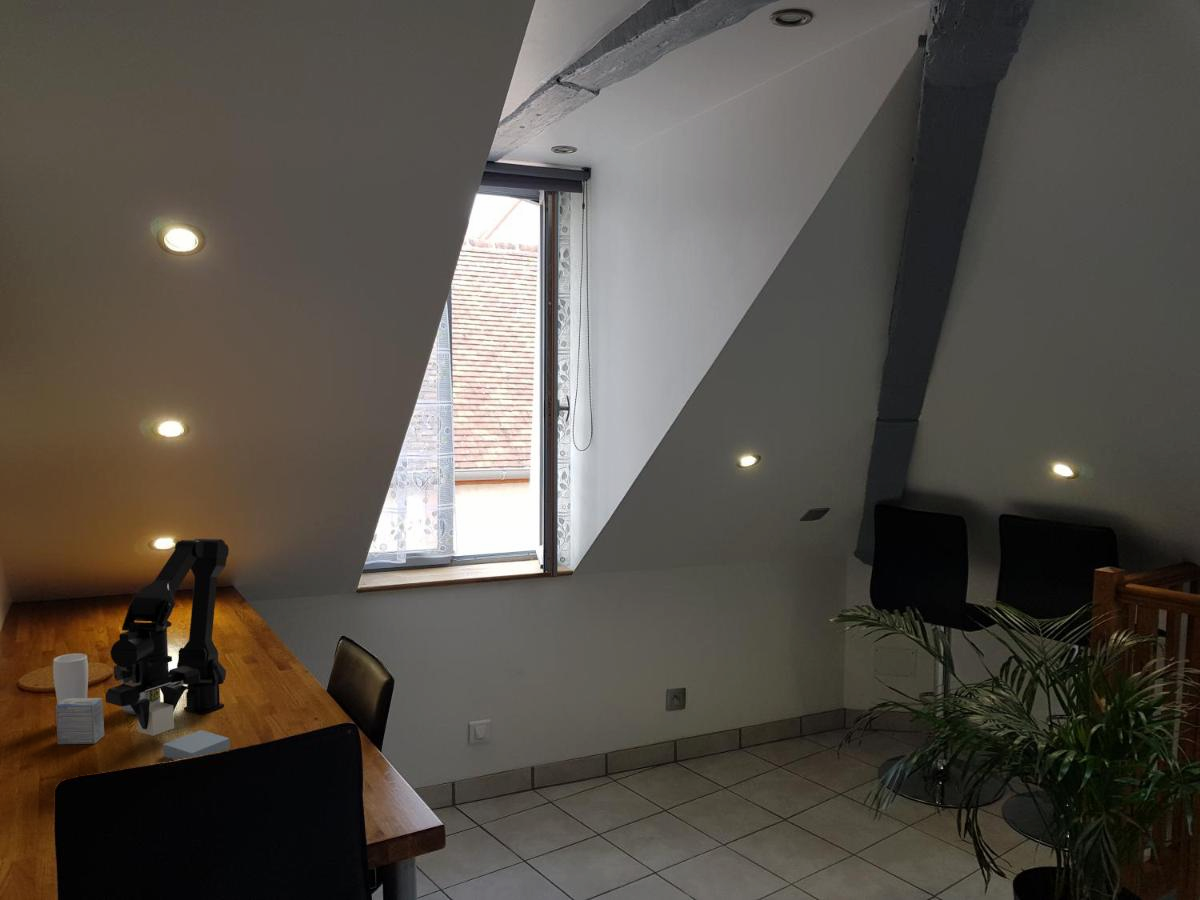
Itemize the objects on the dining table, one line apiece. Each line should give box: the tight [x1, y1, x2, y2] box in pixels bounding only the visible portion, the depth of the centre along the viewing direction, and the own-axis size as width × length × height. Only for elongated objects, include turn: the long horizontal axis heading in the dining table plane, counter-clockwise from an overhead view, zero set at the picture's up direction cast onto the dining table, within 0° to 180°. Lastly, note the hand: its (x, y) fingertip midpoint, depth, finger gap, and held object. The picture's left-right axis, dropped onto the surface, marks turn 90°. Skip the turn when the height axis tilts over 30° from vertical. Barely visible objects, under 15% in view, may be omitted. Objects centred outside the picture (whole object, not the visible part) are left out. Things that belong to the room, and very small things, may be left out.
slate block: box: [162, 729, 231, 761], centre depth 202 cm, size 9×9×3 cm
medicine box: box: [55, 697, 105, 745], centre depth 208 cm, size 8×4×9 cm, turn 92°
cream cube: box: [136, 700, 175, 737], centre depth 208 cm, size 5×5×5 cm
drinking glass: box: [52, 653, 89, 705], centre depth 218 cm, size 7×7×15 cm
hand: (155, 724), depth 208 cm, fingers closed on cream cube, 5 cm apart
